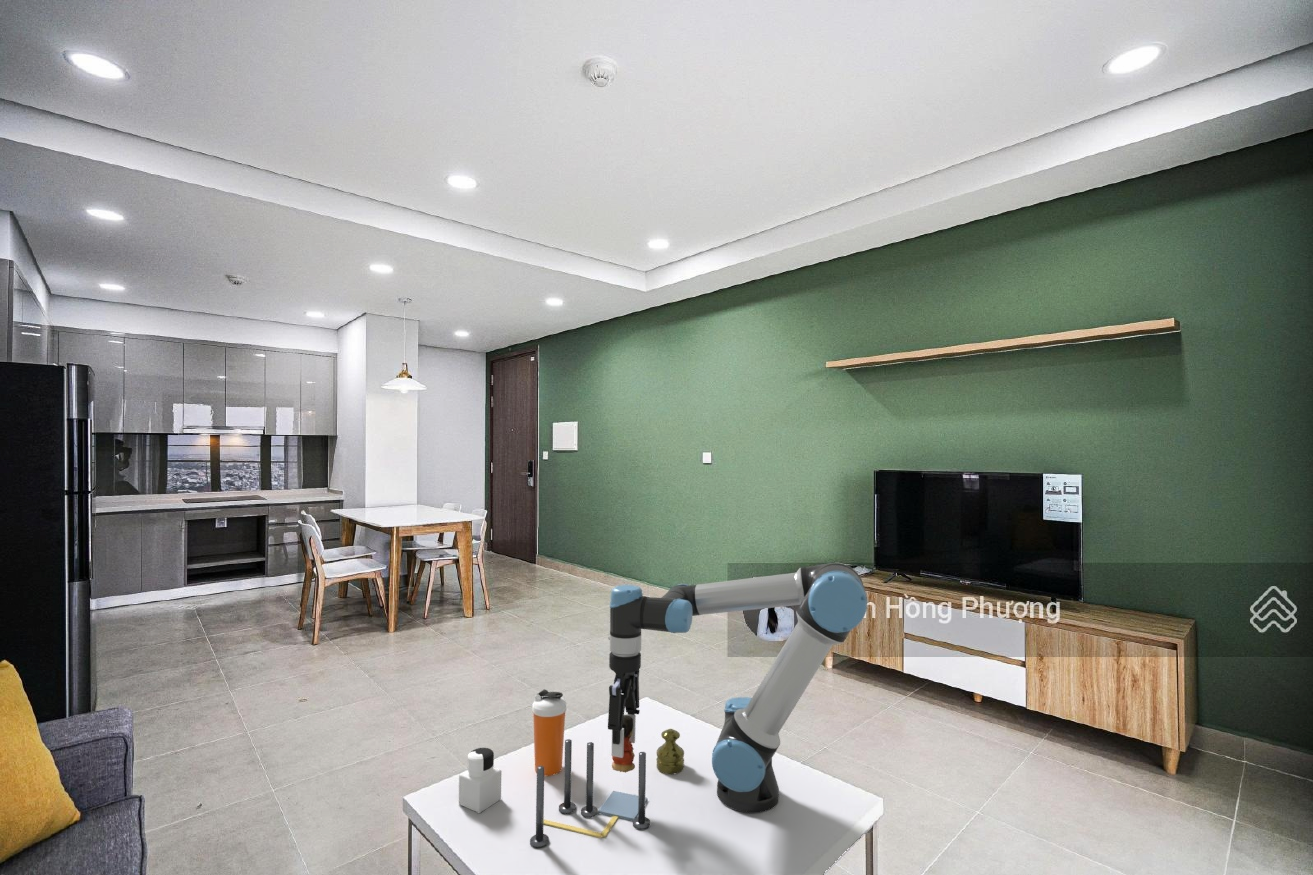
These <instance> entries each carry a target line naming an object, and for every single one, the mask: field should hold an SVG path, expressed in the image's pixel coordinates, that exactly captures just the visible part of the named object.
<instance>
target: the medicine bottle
mask: <svg viewBox="0 0 1313 875" xmlns="http://www.w3.org/2000/svg"><path fill="white" fill-rule="evenodd" d="M494 754H495V753H494V750H492V749H491V748H488V747H478V748H475V749H473V750H471V751H470V752H469V753H468V754H467V770H465V771H464V772H461V773H460V774H459V777H458V781H459V782H458V804H459V805H460V806H463V807H465V808H466V809H468V810H471V811H473V812H476V813H478V814H481V812H484V811H485V810H486V809H488V808H490V807H491V806H493V805H494V804H495V803H497V802H499V801H500V800H501V799H502V769H499V768H497V767H494V766H495V765H494V762H495V761H494V760H495V758H494V756H495V755H494Z"/></svg>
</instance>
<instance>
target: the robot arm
mask: <svg viewBox="0 0 1313 875" xmlns="http://www.w3.org/2000/svg"><path fill="white" fill-rule="evenodd" d="M790 606H798V607H797V609H796V611H795V613H796V617H797V618H796V619H797V623H796V624H795V626H794V628H793V630H792V631H791V633H790V635H789V636H788V638H787V639H786V641H785V643H784V645H783V646H782V648H781V649H780V651H779V653H778V655H777V656H776V658H775V659H774V661H773V663H772V664H771V666H770V667H769V670H768V671H767V673H766V674H765V676H764V677H763V679H762V680H761V682H760V683H759V686H758V688H757V689H756V691H755V692H754V694H753V695H752V697H745V696H744V697H742V696H740V697H733V698H729V699H728V700H727V701H726V702H725V703H724V708H723V710H724V722H723V723H724V724H723V726H722V728H721V730H720V734H719V736H718V738H717V741H716V744H715V745H714V747H713V749H712V752H711V753H712V756H711V766H712V769H713V773H714V775H715V776H716V778H717V783H716V795H717V798H718V799H719V801H720V802H721V803H722V804H723V805H725V806H726V807H728V809H729V808H730V809H732V810H735V811H737V812H741V813H742V812H743V813H749V814H750V813H751V814H757V813H763V812H767V811H771V810H773V809H774V808H775V807H776V806H777V805H778V803H779V801H780V789H779V788H780V787H779V783H778V781H777V778H776V775H775V771H774V767H773V757H774V755H775V753H776V752H777V750H778V749H779V747H780V746H781V738H780V734H779V733H780V731H781V730H782V728H783V726H784V725H785V724H786V722H787V721H788V718H789V717H790V715H791V714H792V712H793V710H794V709H795V707H796V705H797V704H798V703H799V701H800V700H801V697H802V696H803V694H804V692H805V691H806V689H807V688H808V686H809V684H810V683H811V681H812V680H813V678H814V676H815V675H816V673H817V671H818V670H819V668H820V666H822V663H823V662H824V660H825V659H826V657H827V656H828V654H829V652H830V650H832V647H833V646H834V645H842V644H844V642H845V640H846V639H847V637H848V636H849V634H850V633H851V631H852V630H853V629H855V628H857V627H858V626H859V624H860V623H861V622H862V621H863V619H864V617H865V615H866V612H867V609H868V597H867V592H866V590H865V586H864V583H863V581H862V578H861V575H860V574H859V573H858V572H857V571H856V570H855V569H854V568H852V567H851V566H849V565H848V564H845V563H842V562H828V563H822V564H816V565H811V566H810V565H809V566H803V567H799V568H798V570H797V571H796V572H791V573H789V572H788V573H782V574H774V575H767V576H758V577H757V576H756V577H749V578H742V579H741V578H739V579H734V580H725V581H717V582H708V583H699V584H691V585H689V584H688V583H679V584H676V585H674V586H672V587H671V588H670V589H669V590H668V591H667V592H666V593H665V594H664V595H662V596H661V597H651V596H645V595H644V594H643V590H642V588H641V587H640V586H638V585H633V584H621V585H617V586H615V587H613V588H612V589H611V592H610V604H609V635H608V640H609V651H610V652H609V655H608V656H609V664H608V666H609V669H610V670H611V671H613V672H614V673H615V676H614V680H613V684H611V685H609V687H608V693H609V700H608V715H607V716H608V717H607V718H608V719H607V729H608V730H611V757H612V756H615V757H620V758H623V756H624V728H622V726H623V718H624V715H628V716H630V717H631V718H632V719H633V729H632V736H631V737H630V738H629V741H630V742H631V743H632V744H635V743H636V723H637V722H636V717H637V716H636V715H639V714H640V709H639V707H640V682H639V681H640V679H639V677H640V669H641V666H642V665H641V664H642V653H641V651H642V630H647V631H657V632H666V633H670V634H678V633H679V634H681V633H682V634H686V633H688V632H689V631H690V630H691V626H692V623H693V617H695V616H703V615H704V616H705V615H712V614H722V613H733V612H741V611H752V610H761V609H771V608H781V607H790Z"/></svg>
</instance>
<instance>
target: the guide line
mask: <svg viewBox="0 0 1313 875" xmlns="http://www.w3.org/2000/svg"><path fill="white" fill-rule="evenodd" d="M618 819H619V818H618V816H613V817H612V816H611V818H610V820H609V821H608V823H607V824H606V826H605V827H604V829H603V830H602V831H601V832H599V831H594V830H591V829H586V828H582V827H577V826H573V825H571V824H570V825H569V824H564V823H561V822H557V821H551V820H547V819H544V825H545V826H550V827H554V828H557V829H562V830H565V831H569V832H574V833H578V834H583V835H587V836H591V837H595V838H598V839H599V838H600V839H602V838H606V837H607V835H608V834H609V833H610V831H611V830H612V828H613V826H615V823H616V822H617V821H618ZM544 825H543V826H544Z"/></svg>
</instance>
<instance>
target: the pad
mask: <svg viewBox="0 0 1313 875" xmlns="http://www.w3.org/2000/svg"><path fill="white" fill-rule="evenodd" d="M647 801H648V797H646V796H645V804H646V803H647ZM598 814H599V815H604V816H609V817H611V818H612V817H613V816H618V819H622V820H626V821H631V822H633V820H634V819H635V818H637V817H638V795H636V794H631V793H625V792H621V791H617V790H612V791H611V793H610V794H609V796H608V797H607V798H606V799H605V801H604V802H603V804H601V806H600V808H598Z"/></svg>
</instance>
